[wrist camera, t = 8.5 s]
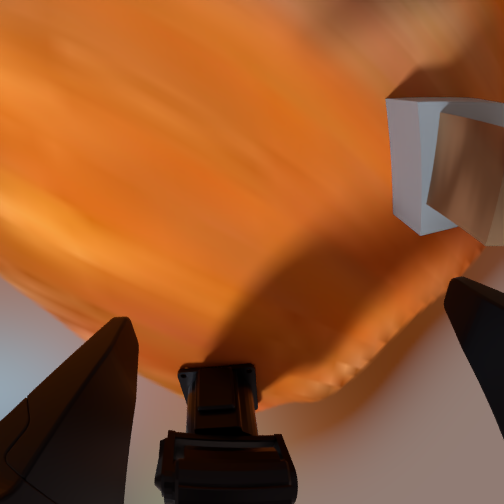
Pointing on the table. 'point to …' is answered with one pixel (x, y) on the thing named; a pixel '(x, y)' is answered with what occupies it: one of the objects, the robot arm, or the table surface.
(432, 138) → the plinth block
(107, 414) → the robot arm
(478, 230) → the walnut cube
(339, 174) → the table surface
